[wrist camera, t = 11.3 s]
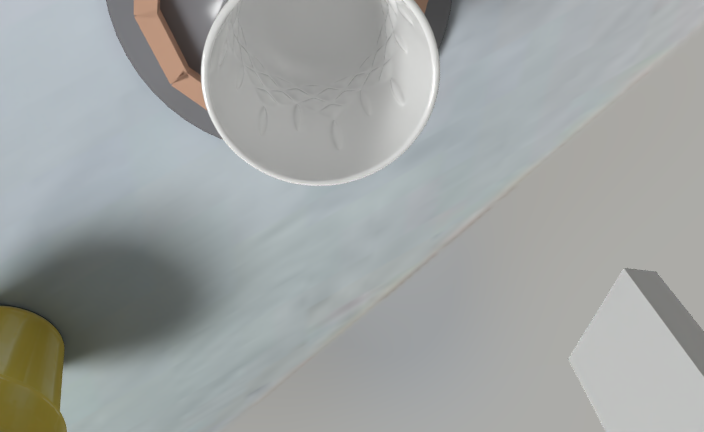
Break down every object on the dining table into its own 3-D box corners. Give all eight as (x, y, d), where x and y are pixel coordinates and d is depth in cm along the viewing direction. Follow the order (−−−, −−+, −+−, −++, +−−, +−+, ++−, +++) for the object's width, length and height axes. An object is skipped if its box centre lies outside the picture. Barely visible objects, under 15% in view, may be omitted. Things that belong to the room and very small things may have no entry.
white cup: (414, -66, 26) (476, -5, 18) (366, 94, 31) (399, 202, 23) (237, -116, 25) (218, -73, 17) (212, 62, 29) (187, 166, 21)
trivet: (102, -264, 22) (92, -268, 21) (498, -157, 25) (508, -155, 24) (106, 122, 31) (100, 134, 30) (401, 164, 34) (405, 176, 33)
